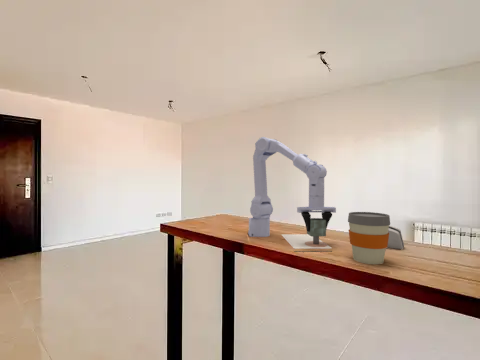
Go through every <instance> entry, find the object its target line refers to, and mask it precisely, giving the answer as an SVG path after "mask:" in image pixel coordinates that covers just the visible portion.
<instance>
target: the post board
mask: <svg viewBox="0 0 480 360" xmlns="http://www.w3.org/2000/svg"><path fill="white" fill-rule="evenodd" d="M280 235H281V236H282V237H283V239H285V240H286V242H287V243H289V245H290V246H291V247H292V248H293V249H294V250H293V252H294V253H306V252H307V253H313V252H316V253H317V252H318V253H319V252H320V253H323V252H325V253H327V252H330V253H332V252H333V250H321V249H332V247H331V246H330V245H329V244H328V243H326V242H324V241H322V240H321V239H320V236H310V235H308V234H307V233H306V234H305V233H304V234H301V233H299V234H298V233H296V234H294V233H293V234H290V233H289V234H287V233H285V234H280ZM297 249H298V250H297ZM299 249H301V250H299ZM303 249H305V250H303ZM307 249H309V250H307ZM310 249H315V250H310ZM316 249H318V250H316ZM319 249H320V250H319Z"/></svg>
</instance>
